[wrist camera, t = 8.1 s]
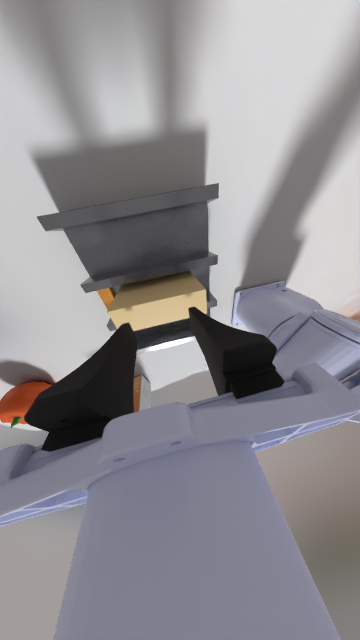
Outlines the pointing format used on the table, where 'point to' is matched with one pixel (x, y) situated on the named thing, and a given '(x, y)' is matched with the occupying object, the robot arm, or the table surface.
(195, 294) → the tan rectangular block
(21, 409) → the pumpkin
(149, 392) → the small box
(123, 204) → the rack
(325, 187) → the table surface
